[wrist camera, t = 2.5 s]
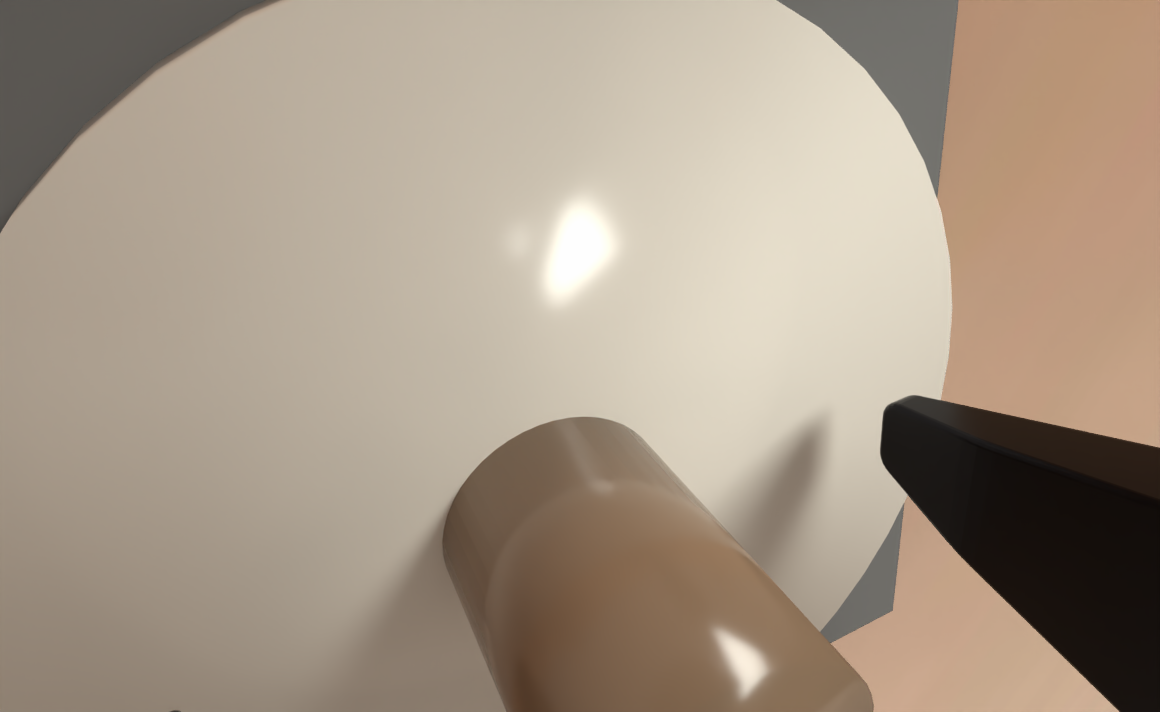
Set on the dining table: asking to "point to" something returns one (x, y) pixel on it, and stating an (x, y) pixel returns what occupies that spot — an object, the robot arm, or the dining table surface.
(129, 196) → the lid
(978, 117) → the dining table surface
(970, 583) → the dining table surface
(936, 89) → the mat
